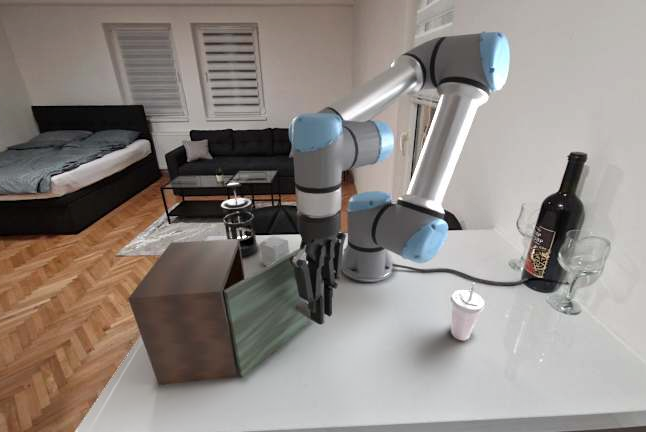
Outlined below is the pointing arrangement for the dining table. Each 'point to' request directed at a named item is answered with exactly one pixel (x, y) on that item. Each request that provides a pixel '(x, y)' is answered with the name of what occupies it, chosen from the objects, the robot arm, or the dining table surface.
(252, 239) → the french press
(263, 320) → the door
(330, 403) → the dining table surface
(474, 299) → the smoothie
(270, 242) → the product carton
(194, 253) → the cupboard
